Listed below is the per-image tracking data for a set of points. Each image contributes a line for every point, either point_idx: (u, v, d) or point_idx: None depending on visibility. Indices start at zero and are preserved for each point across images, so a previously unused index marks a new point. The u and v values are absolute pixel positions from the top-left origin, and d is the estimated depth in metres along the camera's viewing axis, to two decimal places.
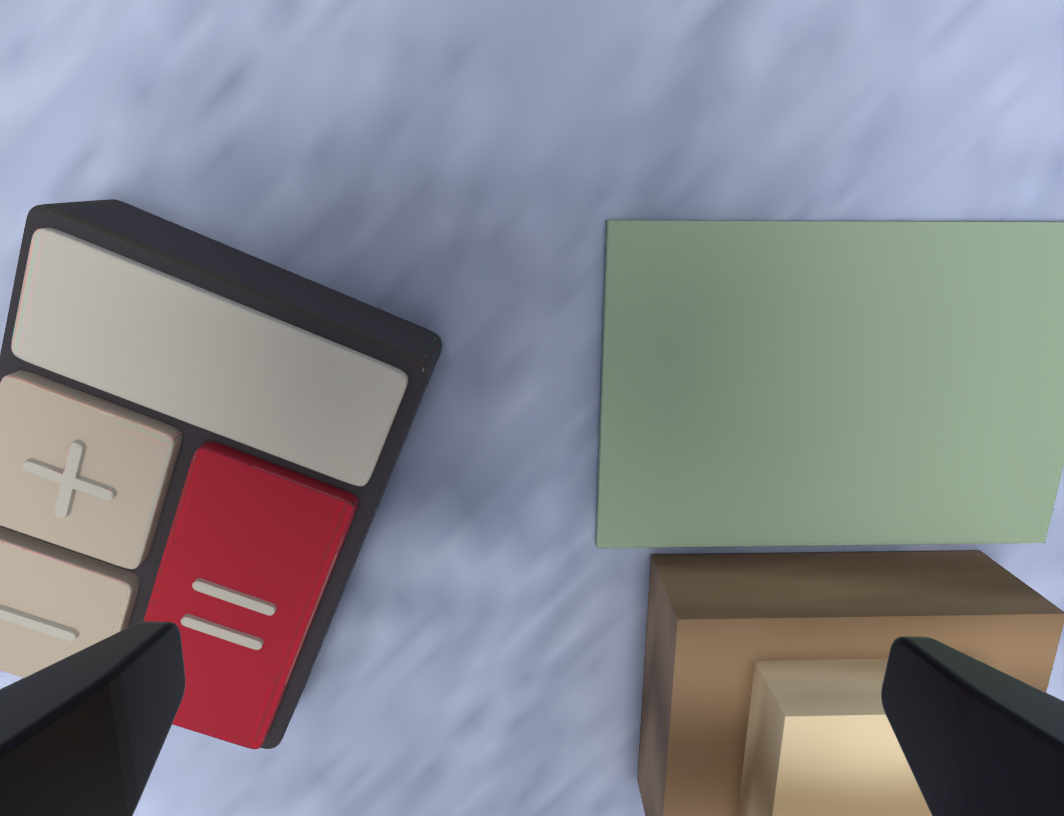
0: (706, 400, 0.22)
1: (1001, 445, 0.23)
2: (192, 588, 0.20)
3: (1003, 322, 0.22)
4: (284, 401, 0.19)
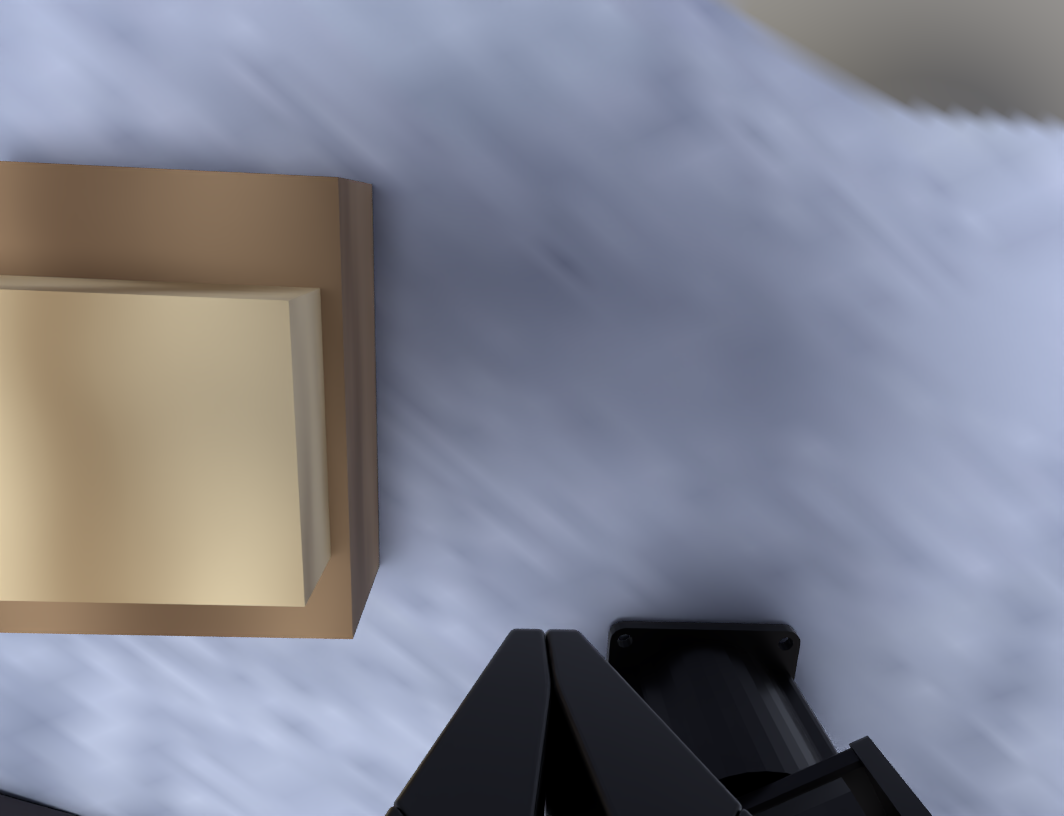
0: None
1: None
2: None
3: None
4: None
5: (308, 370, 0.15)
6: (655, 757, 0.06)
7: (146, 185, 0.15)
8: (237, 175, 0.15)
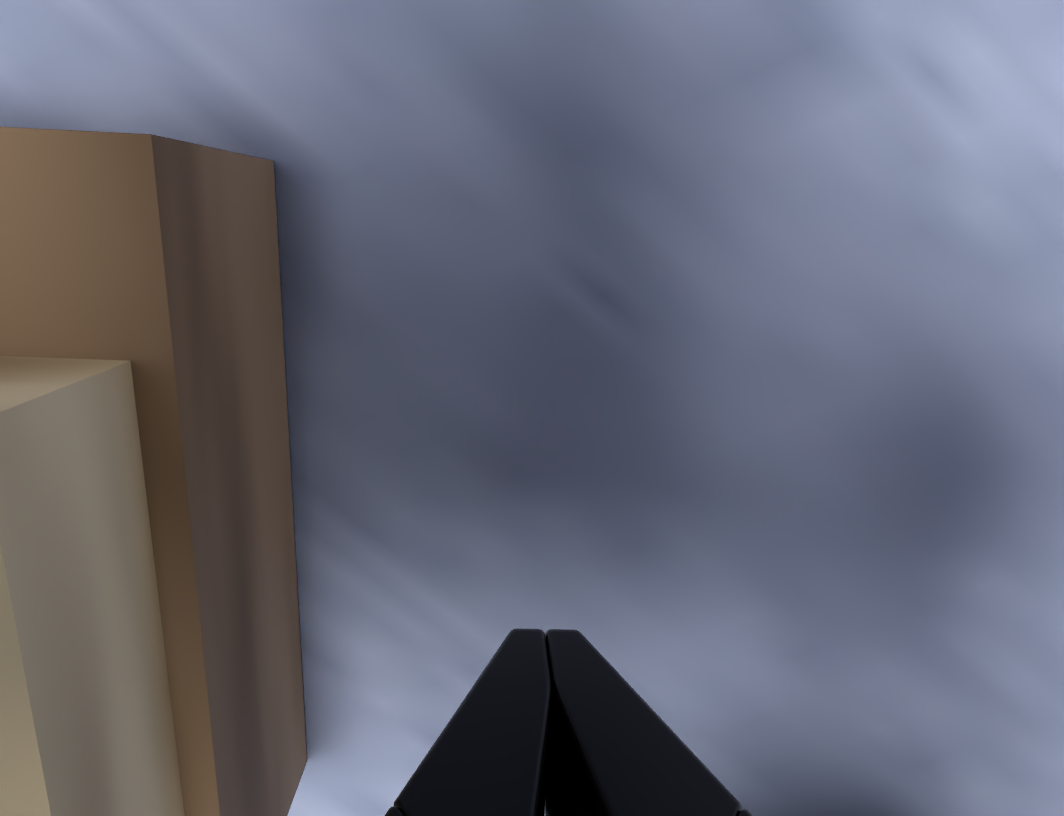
0: None
1: None
2: None
3: None
4: None
5: (86, 541, 0.07)
6: (655, 757, 0.06)
7: None
8: None
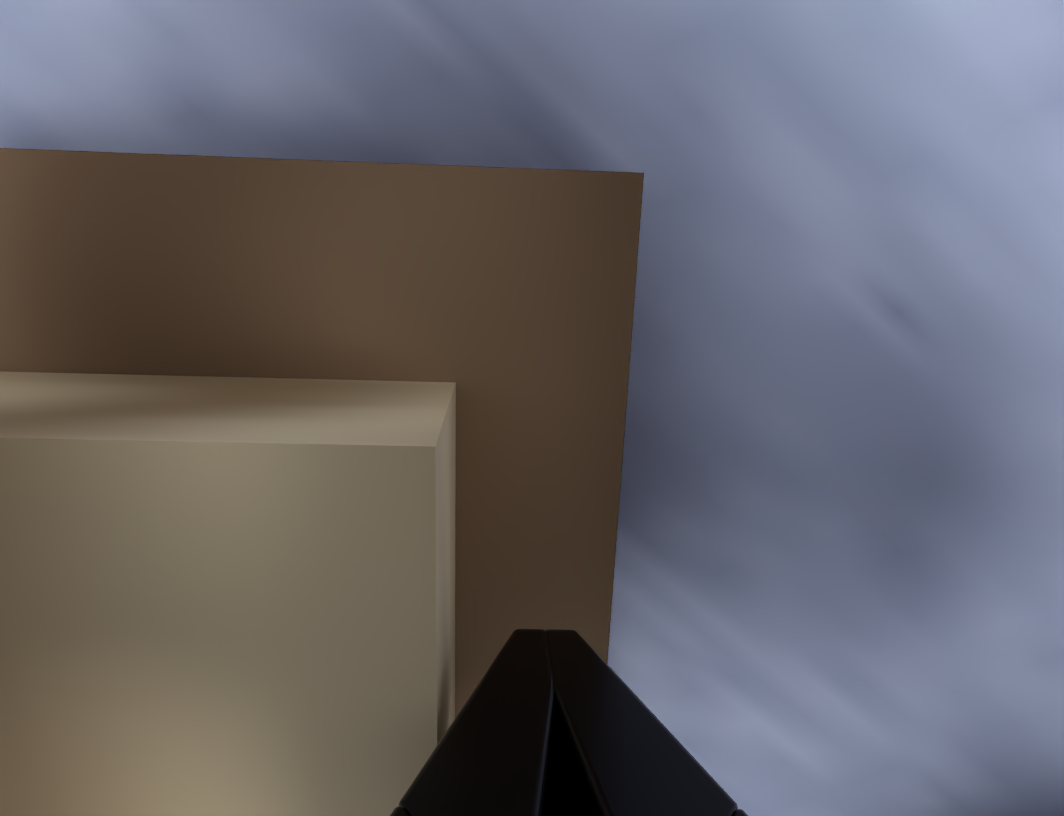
0: None
1: None
2: None
3: None
4: None
5: (446, 558, 0.08)
6: (652, 757, 0.06)
7: (264, 193, 0.08)
8: (446, 171, 0.08)
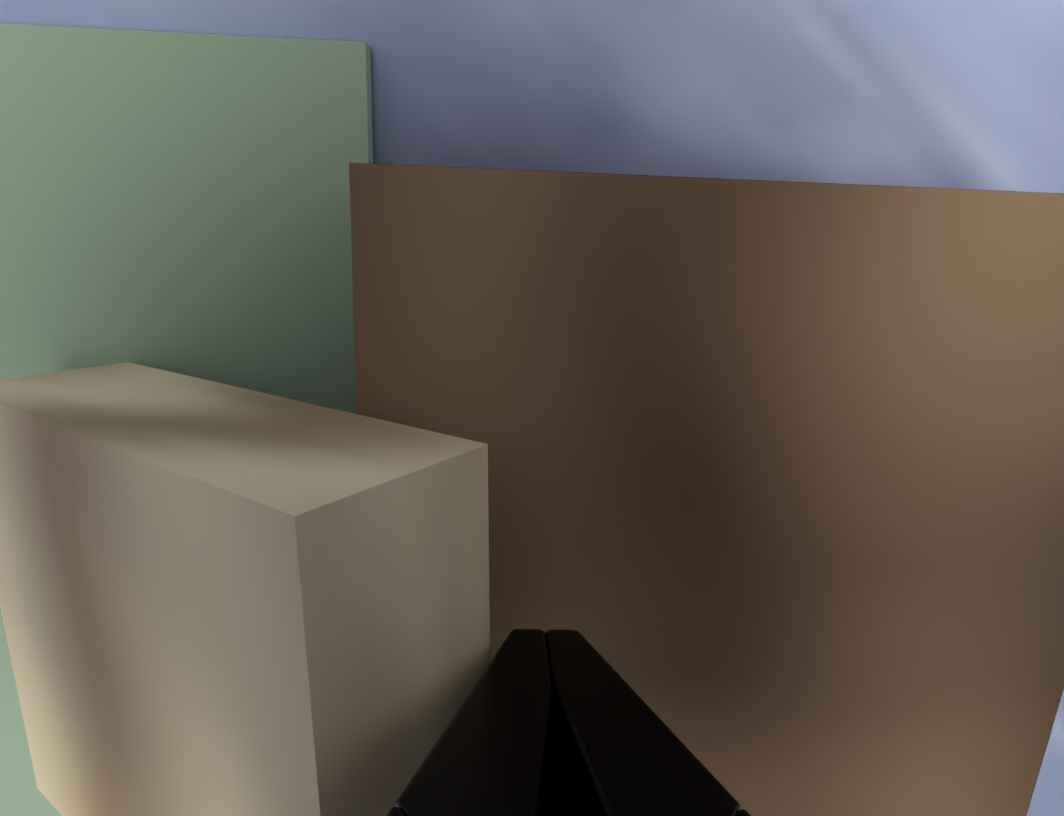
0: None
1: (139, 189, 0.11)
2: None
3: None
4: None
5: (408, 639, 0.07)
6: (654, 757, 0.06)
7: (846, 217, 0.08)
8: (1023, 197, 0.08)
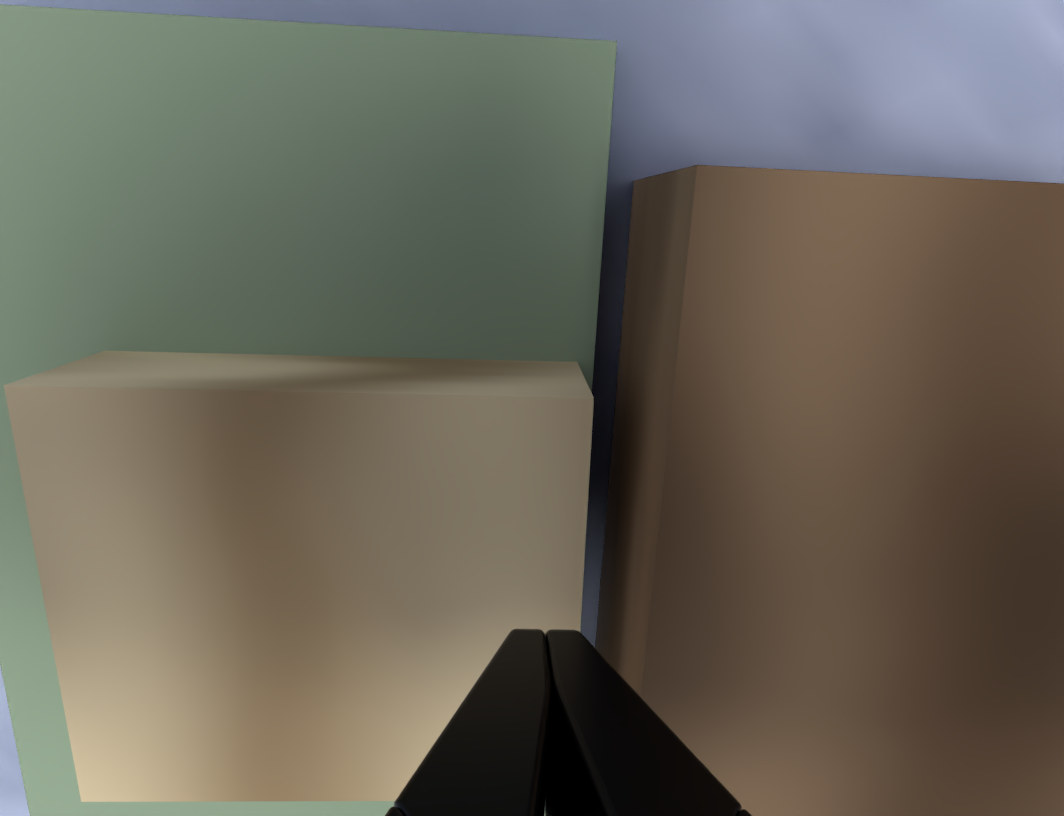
0: None
1: (377, 188, 0.11)
2: None
3: (115, 227, 0.11)
4: None
5: None
6: (655, 757, 0.06)
7: None
8: None
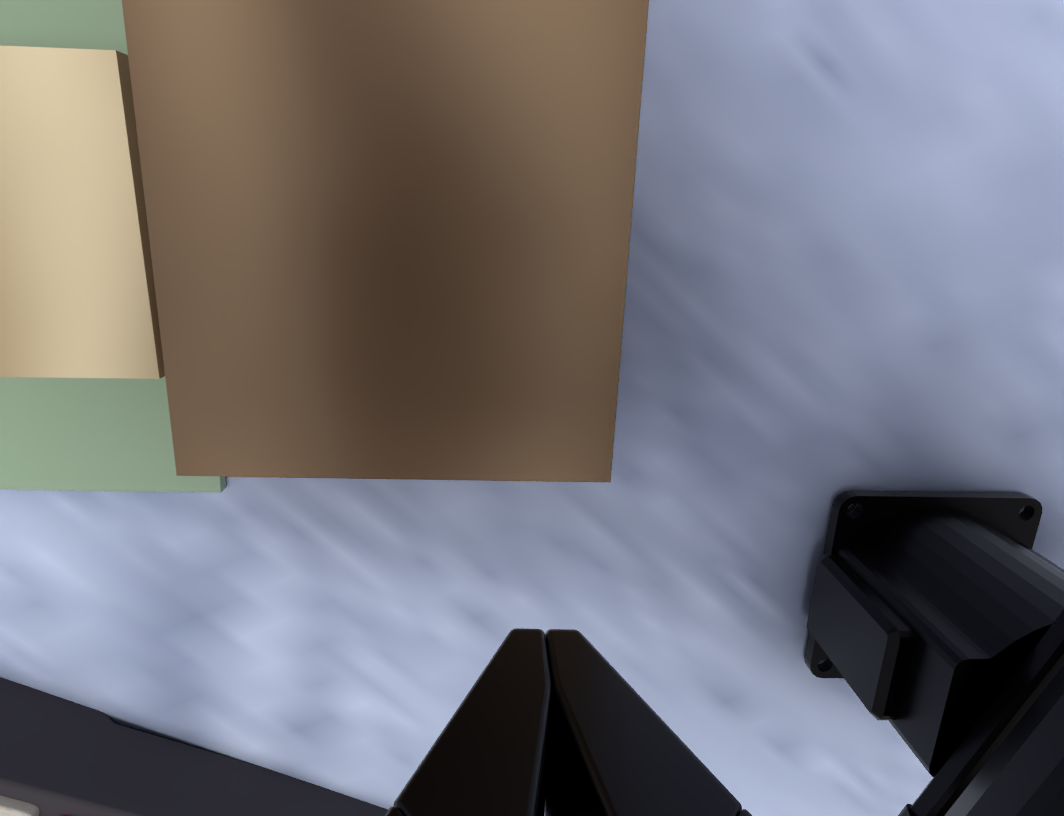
0: None
1: None
2: None
3: None
4: None
5: None
6: (655, 757, 0.06)
7: None
8: None
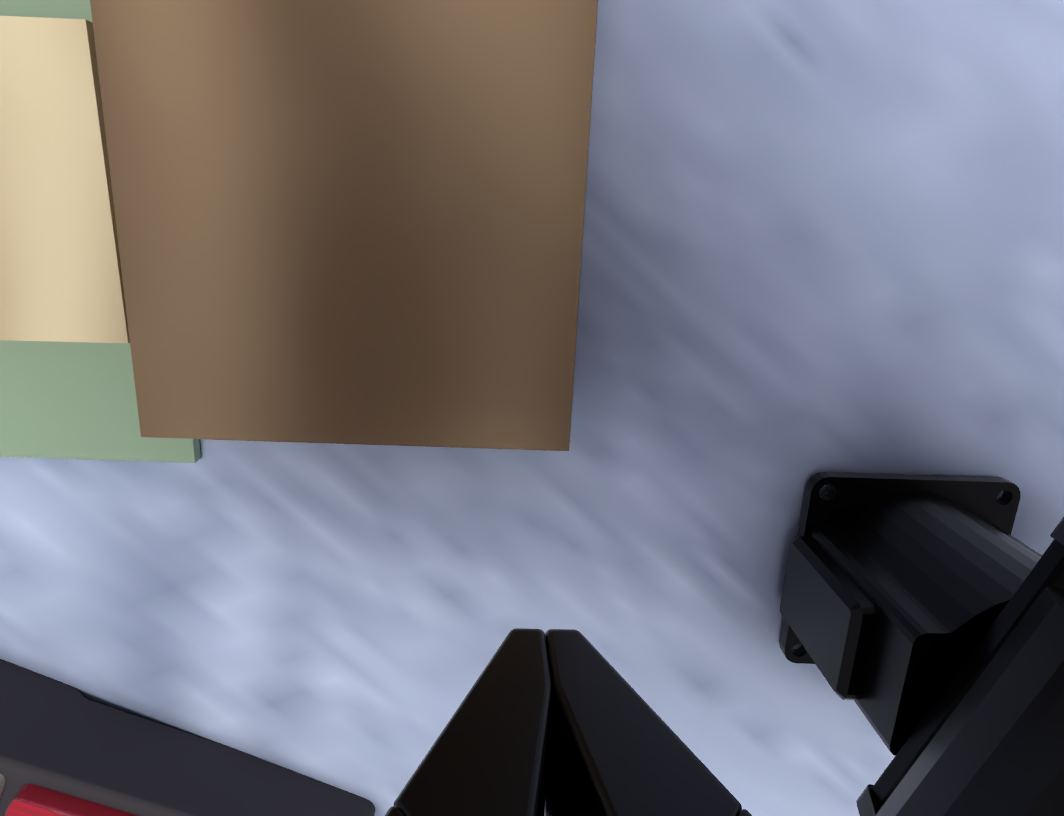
0: None
1: None
2: None
3: None
4: None
5: None
6: (655, 757, 0.06)
7: None
8: None
